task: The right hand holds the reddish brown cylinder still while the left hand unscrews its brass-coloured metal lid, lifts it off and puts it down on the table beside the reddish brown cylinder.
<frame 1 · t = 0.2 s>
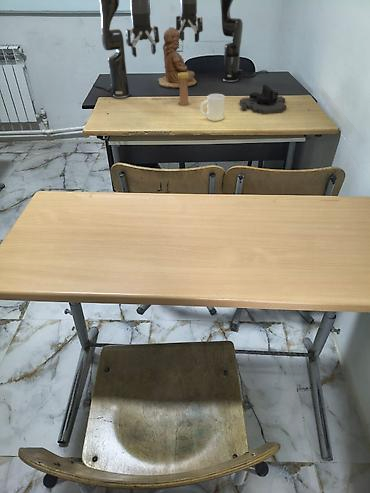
left hand: (144, 55, 157), 29 cm above the table, tool pointing down, fingers open, 8 cm apart
right hand: (189, 41, 178), 29 cm above the table, tool pointing down, fingers open, 8 cm apart
sculpture: (177, 82, 224), on the table
mug: (211, 118, 176), on the table
lid: (183, 74, 184), point 15 cm above the table, screwed on, not yet turned
abstract sculpture: (264, 106, 187), on the table
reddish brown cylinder: (184, 103, 194), on the table
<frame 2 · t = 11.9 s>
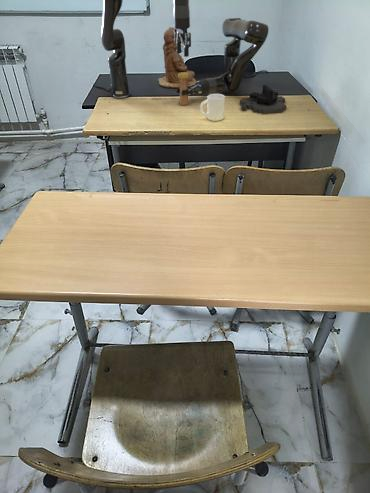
left hand: (182, 54, 178), 24 cm above the table, tool pointing down, fingers open, 7 cm apart
right hand: (179, 92, 188), 7 cm above the table, tool horizontal, fingers closed on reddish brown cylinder, 4 cm apart
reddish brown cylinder: (184, 103, 194), on the table, touching right hand
everything else where it was.
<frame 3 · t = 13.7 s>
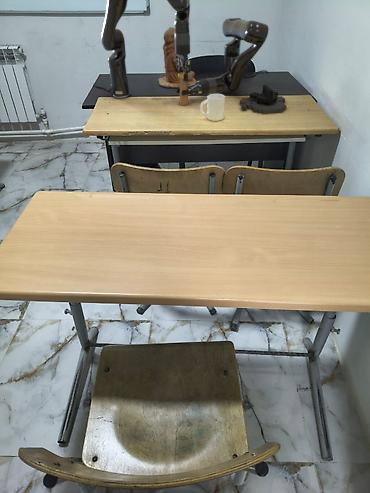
left hand: (183, 79, 186), 12 cm above the table, tool pointing down, fingers closed on lid, 5 cm apart
right hand: (179, 92, 188), 7 cm above the table, tool horizontal, fingers closed on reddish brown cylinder, 4 cm apart
lid: (183, 74, 184), point 15 cm above the table, screwed on, not yet turned, touching left hand
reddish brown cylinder: (184, 103, 194), on the table, touching right hand
everything else where it was.
when the left hand's fingers open (13 cm above the table, at t = 15.1 s): lid stays where it is, point 15 cm above the table.
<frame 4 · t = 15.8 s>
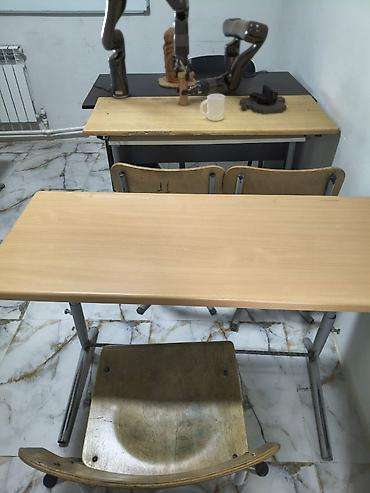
left hand: (182, 79, 185), 13 cm above the table, tool pointing down, fingers open, 7 cm apart
right hand: (179, 91, 188), 7 cm above the table, tool horizontal, fingers closed on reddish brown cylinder, 4 cm apart
lid: (183, 73, 184), point 15 cm above the table, turned 55° so far, risen 0.2 cm, still on its thread
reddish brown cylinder: (183, 103, 194), on the table, touching right hand
everything else where it was.
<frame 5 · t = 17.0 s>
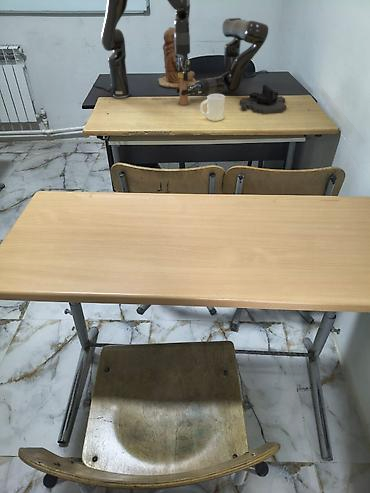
left hand: (183, 79, 186), 13 cm above the table, tool pointing down, fingers closed on lid, 5 cm apart
right hand: (179, 91, 188), 7 cm above the table, tool horizontal, fingers closed on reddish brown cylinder, 4 cm apart
lid: (183, 73, 184), point 15 cm above the table, turned 55° so far, risen 0.2 cm, still on its thread, touching left hand
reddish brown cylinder: (183, 103, 194), on the table, touching right hand
everything else where it was.
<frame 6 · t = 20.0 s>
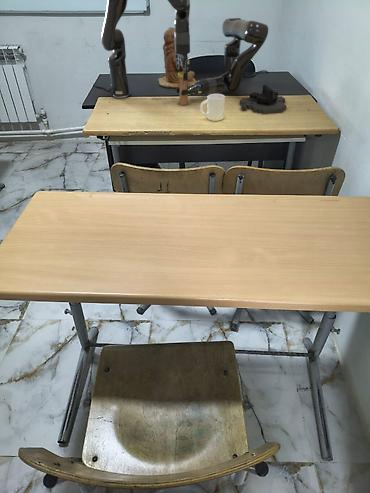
left hand: (183, 78, 185), 13 cm above the table, tool pointing down, fingers closed on lid, 5 cm apart
right hand: (179, 91, 188), 7 cm above the table, tool horizontal, fingers closed on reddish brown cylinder, 4 cm apart
lid: (183, 73, 184), point 15 cm above the table, turned 110° so far, risen 0.3 cm, still on its thread, touching left hand
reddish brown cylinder: (183, 103, 194), on the table, touching right hand
everything else where it was.
when the left hand's fingers open (0 cm above the table, at t = 26.7 s): lid drops 2 cm, point 1 cm above the table.
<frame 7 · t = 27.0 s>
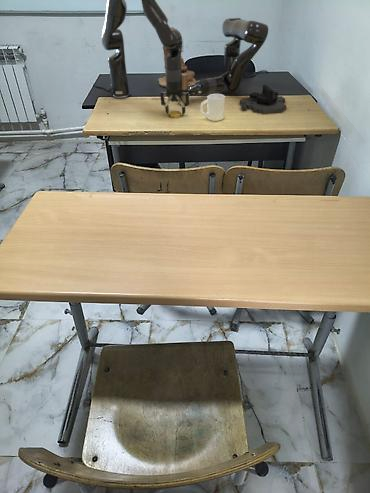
left hand: (175, 113, 180), 1 cm above the table, tool pointing down, fingers open, 7 cm apart
right hand: (179, 91, 188), 7 cm above the table, tool horizontal, fingers closed on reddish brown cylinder, 4 cm apart
lid: (175, 112, 180), point 1 cm above the table, off its thread
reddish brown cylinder: (183, 103, 194), on the table, touching right hand
everything else where it was.
when the right hand's fingers open (7 cm above the table, at t = 27.7 s): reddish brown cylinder stays where it is, on the table.
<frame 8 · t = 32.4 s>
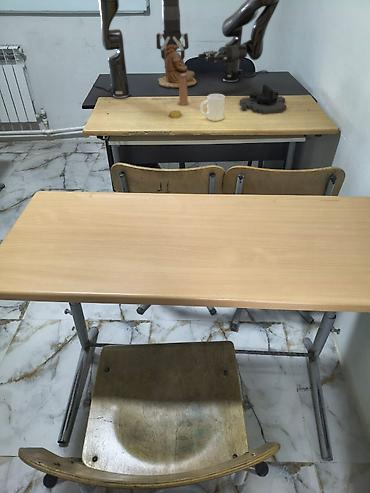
left hand: (173, 59, 164), 26 cm above the table, tool pointing down, fingers open, 8 cm apart
right hand: (202, 58, 184), 21 cm above the table, tool horizontal, fingers open, 8 cm apart
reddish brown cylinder: (183, 103, 194), on the table
everything else where it was.
at the end: lid came off its thread; lid point 1.3 cm above the table; the left hand is holding nothing; the right hand is holding nothing; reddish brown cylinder tilted 0°; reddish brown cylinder moved 0.3 cm from its start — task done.
